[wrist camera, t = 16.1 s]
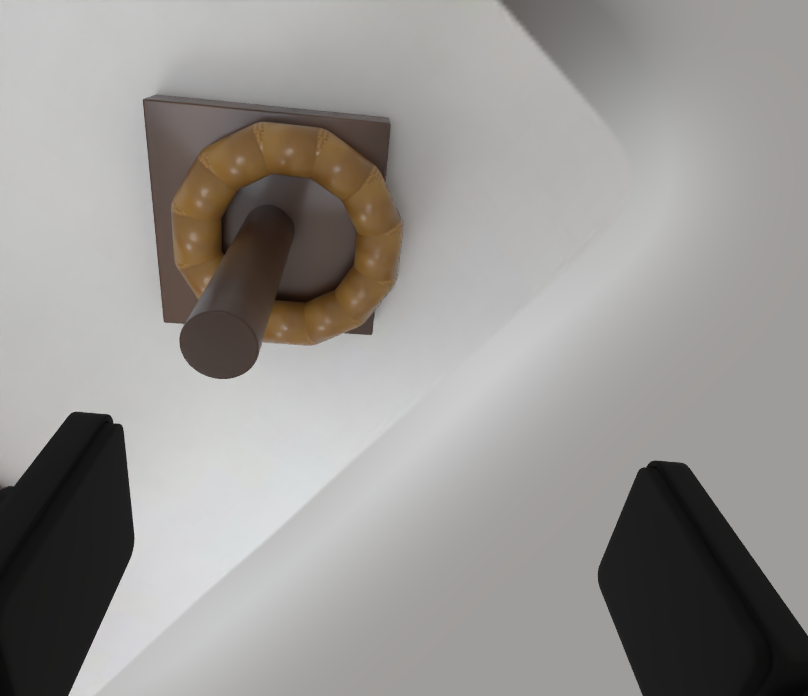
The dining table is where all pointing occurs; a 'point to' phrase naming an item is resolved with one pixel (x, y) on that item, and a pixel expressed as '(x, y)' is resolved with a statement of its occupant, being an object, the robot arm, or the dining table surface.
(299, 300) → the stand
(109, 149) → the dining table surface
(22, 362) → the dining table surface
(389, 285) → the ring
